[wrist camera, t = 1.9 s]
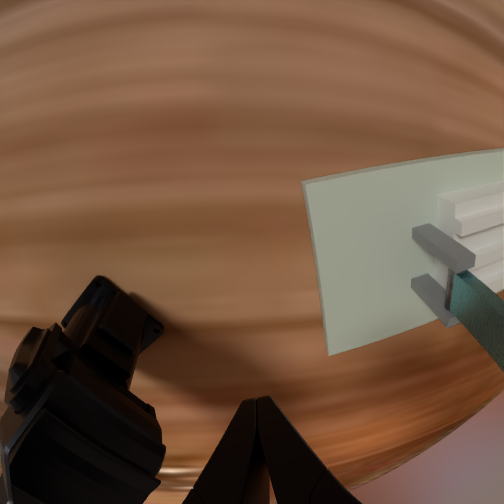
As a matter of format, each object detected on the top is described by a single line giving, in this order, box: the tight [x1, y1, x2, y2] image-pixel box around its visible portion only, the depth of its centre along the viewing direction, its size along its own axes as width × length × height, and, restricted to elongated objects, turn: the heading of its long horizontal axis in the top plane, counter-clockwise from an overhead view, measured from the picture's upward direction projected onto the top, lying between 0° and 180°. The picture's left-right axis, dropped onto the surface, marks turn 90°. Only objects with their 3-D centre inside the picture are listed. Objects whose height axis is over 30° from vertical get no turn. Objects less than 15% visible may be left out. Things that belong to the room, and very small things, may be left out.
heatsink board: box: [301, 148, 504, 356], centre depth 19 cm, size 22×14×6 cm, turn 103°
